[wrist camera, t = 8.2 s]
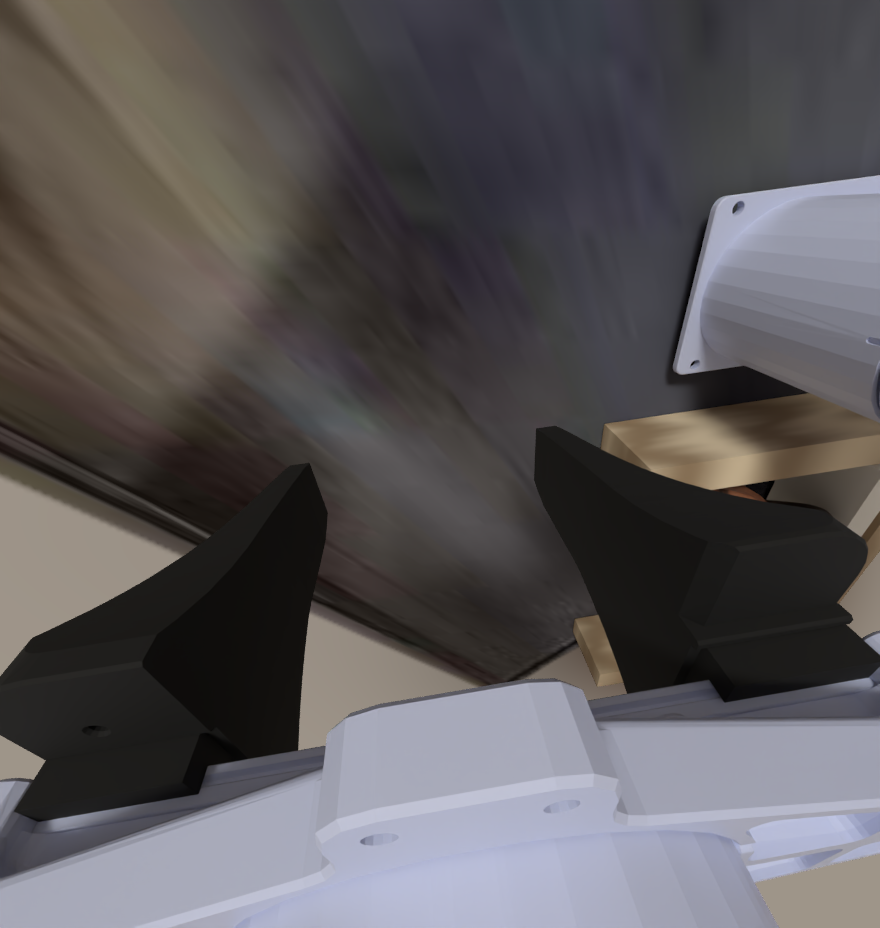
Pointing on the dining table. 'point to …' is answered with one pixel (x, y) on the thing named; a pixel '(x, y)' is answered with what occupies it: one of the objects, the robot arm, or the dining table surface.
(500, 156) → the dining table surface
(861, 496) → the pusher plate
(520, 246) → the dining table surface
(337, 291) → the dining table surface
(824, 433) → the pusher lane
